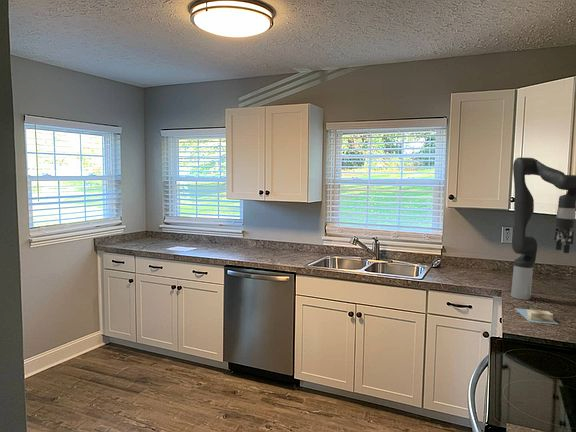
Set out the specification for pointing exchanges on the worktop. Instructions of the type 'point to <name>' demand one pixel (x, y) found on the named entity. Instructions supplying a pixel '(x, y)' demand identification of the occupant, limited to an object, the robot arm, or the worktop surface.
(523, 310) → the mat
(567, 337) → the worktop surface
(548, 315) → the cream notched block
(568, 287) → the worktop surface
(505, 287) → the worktop surface
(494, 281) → the worktop surface
